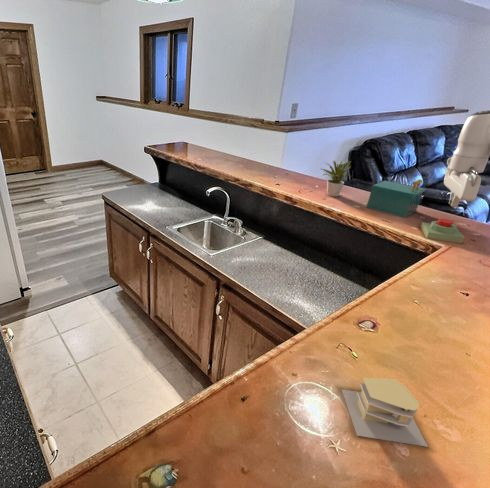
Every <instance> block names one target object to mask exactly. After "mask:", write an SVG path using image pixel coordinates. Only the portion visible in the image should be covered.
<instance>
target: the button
mask: <svg viewBox="0 0 490 488" xmlns="http://www.w3.org/2000/svg"><path fill="white" fill-rule="evenodd" d="M437 221H438V222H437V225H439V226H443V227H451V225H452V224H454V223H453V222H454V221H452V220H451V219H447V218H438V220H437Z"/></svg>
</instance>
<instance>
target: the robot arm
mask: <svg viewBox="0 0 490 488" xmlns="http://www.w3.org/2000/svg"><path fill="white" fill-rule="evenodd" d="M489 158H490V110H481V111H476V112H474V113H472V114H471V115H469V116H468V117H467V118H466V120H465V122H464V123H463V126H462V128H461V131H460V133H459V136H458V138H457V146H456V148H455V150H454V151H453V154H452V156H451V157H448V158H447V161H446V164H447V167H446V170H445V174H444V178H443V185H444V186H445V187H446V188H447V189H448V190H450V193H449V201H448V204H449V206H451V207H452V208H457V207H458V206H459V205H460V202H461V201H467V202H474V201H475V199H476V198H477V196H478V193H479V190H480V188H481V187H480V186H481V183H482V177H481V176H480V175H479V174H481V173H483V172H484V171H485V169H486V166H487V163H488V161H489Z"/></svg>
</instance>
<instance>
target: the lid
mask: <svg viewBox="0 0 490 488" xmlns="http://www.w3.org/2000/svg"><path fill="white" fill-rule="evenodd" d="M421 184H423V180H422V179H420V178H419V179H417V180H415V181H412V185H409V184H404V183H399V182H394V181H389V180H383V181H380V182H377V183H375V184H372V186H371V188H372V187H374V188H378V189H383V190H387V191H392V192H396V193H401V194H405V195H410V196H416V195H418V194H420V193H422V194H423V193H424V192H426V191H427V188H423V187H420V185H421Z"/></svg>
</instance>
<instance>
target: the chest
mask: <svg viewBox="0 0 490 488" xmlns="http://www.w3.org/2000/svg"><path fill="white" fill-rule="evenodd" d="M422 194H423V192H422V193H420V194H418V195H416V196H410V195H405V194H401V193H396V192H392V191H387V190H383V189H378V188H374V187H372V186H371V191H370V194H369V197H368V201H367V205H366V208H367V209H371V210H375V211H379V212H383V213H386V214H390V215H394V216H397V217H402V218H406V217H408V216H410V215H411V214H414V213H416V212H417V210H418V207H419V204H420V201H421V198H422Z"/></svg>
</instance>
